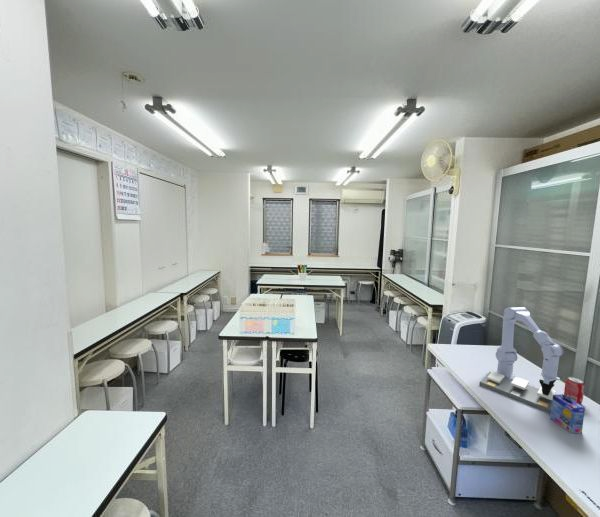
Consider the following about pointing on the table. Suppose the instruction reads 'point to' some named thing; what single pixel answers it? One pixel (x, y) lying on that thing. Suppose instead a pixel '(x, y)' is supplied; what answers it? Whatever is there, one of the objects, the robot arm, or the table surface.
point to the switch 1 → (496, 377)
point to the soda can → (574, 389)
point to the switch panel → (518, 393)
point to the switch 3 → (550, 396)
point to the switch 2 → (520, 383)
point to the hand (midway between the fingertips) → (546, 391)
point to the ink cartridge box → (567, 413)
